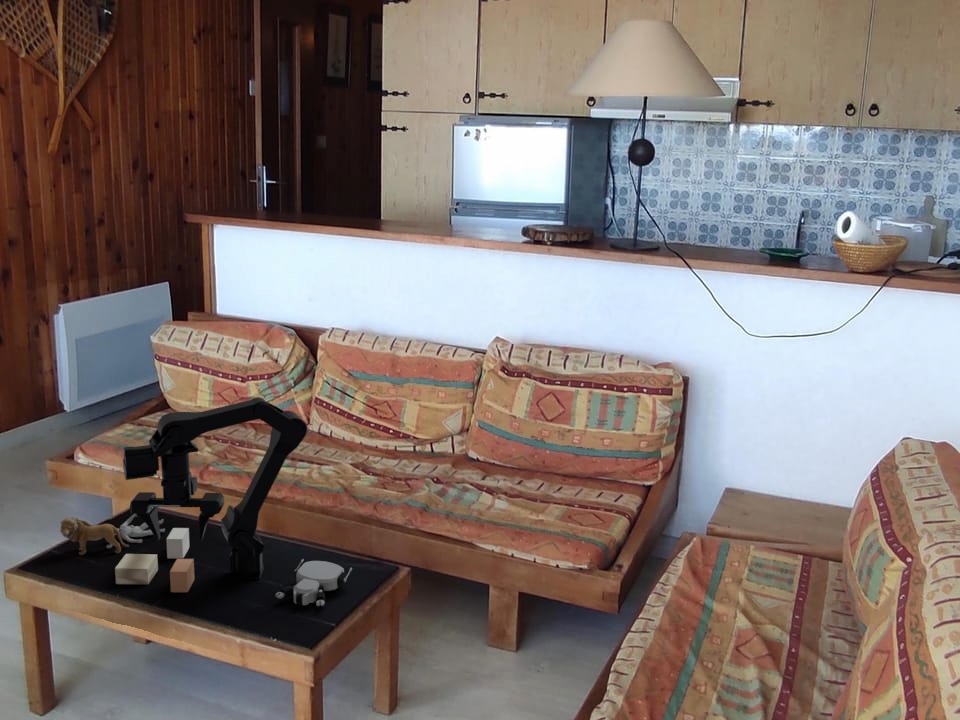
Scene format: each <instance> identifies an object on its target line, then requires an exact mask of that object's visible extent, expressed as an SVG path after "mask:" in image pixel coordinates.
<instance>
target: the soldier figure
mask: <svg viewBox="0 0 960 720" xmlns="http://www.w3.org/2000/svg"><path fill="white" fill-rule="evenodd" d="M135 517H136V518H138V517H137V514H132V515H131V516H129V518H128V519H126V521H124V522H123V523H122V524H121V525H120V526H119V528H117V527H116V529H117V530H118V532H119V534H120V536H121V539H122V540H125V541H126V542H128V543H133V544H136V543H137V544H141V543H142V542H143V539H142V537H147V536H152V535H153V533H152V531H151V530H150V529H148V530H145V529H147V528H149V527H148V525H147V524H146V523H145V522H143V523H142V524H141V525H139V526H138V525H136V526H134V524H131V522H132V521H133V519H135ZM158 521H159V525H161V524H163V523H164V518H162V519H161V520H158ZM129 524H131V525H129ZM165 531H166V529H165V528H160V533H164V532H165ZM115 536H117V534H116V533H115V534H114V537H115ZM153 536H154V535H153ZM130 537H131V538H130ZM133 538H140V539H133Z"/></svg>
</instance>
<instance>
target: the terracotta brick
mask: <svg viewBox="0 0 960 720" xmlns="http://www.w3.org/2000/svg"><path fill="white" fill-rule="evenodd" d="M194 559H195V558H183V559H181V558H176V560H175V562H174V563H173V565H172V567H171V569H170V571H169V578H170V583H169V585H170V593H188V592H189V591H190V589H191V587H192V585H193V583H194V581H195V562H194V561H195V560H194Z"/></svg>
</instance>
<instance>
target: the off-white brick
mask: <svg viewBox="0 0 960 720" xmlns="http://www.w3.org/2000/svg"><path fill="white" fill-rule="evenodd" d="M189 548H190V528H189V527H173V528H172V529H171V531H170V532H169V534H168V536H167V537H166V555H167V556H166V558H167V559H185V556H186V554H187V553H188V551H189Z"/></svg>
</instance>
